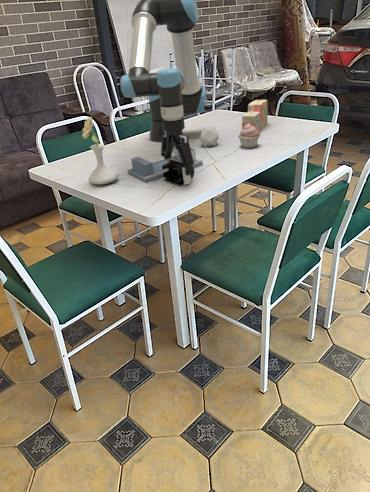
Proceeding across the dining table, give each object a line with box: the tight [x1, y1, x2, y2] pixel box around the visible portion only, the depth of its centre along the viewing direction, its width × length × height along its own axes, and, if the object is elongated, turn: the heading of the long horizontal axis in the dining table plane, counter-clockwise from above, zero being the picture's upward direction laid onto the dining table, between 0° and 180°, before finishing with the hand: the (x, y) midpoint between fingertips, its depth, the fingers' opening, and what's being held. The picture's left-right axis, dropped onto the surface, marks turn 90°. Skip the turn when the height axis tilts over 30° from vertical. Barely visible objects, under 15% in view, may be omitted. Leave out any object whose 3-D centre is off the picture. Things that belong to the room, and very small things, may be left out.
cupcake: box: [238, 123, 261, 149], centre depth 182 cm, size 9×9×10 cm
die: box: [199, 126, 220, 148], centre depth 189 cm, size 8×9×10 cm
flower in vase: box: [82, 116, 119, 186], centre depth 155 cm, size 13×11×25 cm
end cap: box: [162, 160, 195, 187], centre depth 154 cm, size 10×7×7 cm
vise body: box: [127, 155, 204, 184], centre depth 166 cm, size 14×26×6 cm, turn 124°
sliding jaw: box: [173, 144, 197, 162], centre depth 171 cm, size 11×6×5 cm, turn 34°
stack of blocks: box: [241, 99, 269, 133], centre depth 203 cm, size 21×6×12 cm, turn 155°
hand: (178, 179), depth 156 cm, fingers closed on end cap, 10 cm apart
